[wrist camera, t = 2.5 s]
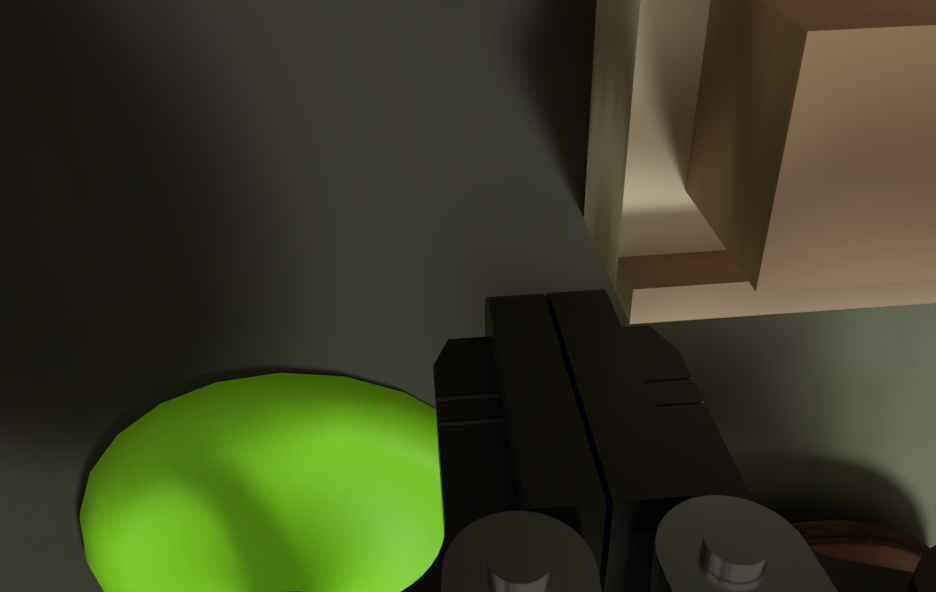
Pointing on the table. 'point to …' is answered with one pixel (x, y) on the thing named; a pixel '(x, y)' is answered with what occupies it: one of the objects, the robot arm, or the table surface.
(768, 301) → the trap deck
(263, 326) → the table surface
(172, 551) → the wineglass
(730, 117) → the light brown block
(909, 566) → the brown lantern
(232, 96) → the table surface
